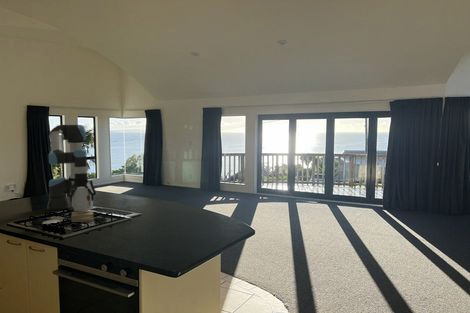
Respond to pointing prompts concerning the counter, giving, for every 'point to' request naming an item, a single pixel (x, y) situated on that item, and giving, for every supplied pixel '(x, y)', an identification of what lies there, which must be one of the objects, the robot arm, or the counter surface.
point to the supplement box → (82, 199)
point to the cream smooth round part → (51, 221)
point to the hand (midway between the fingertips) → (82, 206)
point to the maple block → (82, 216)
